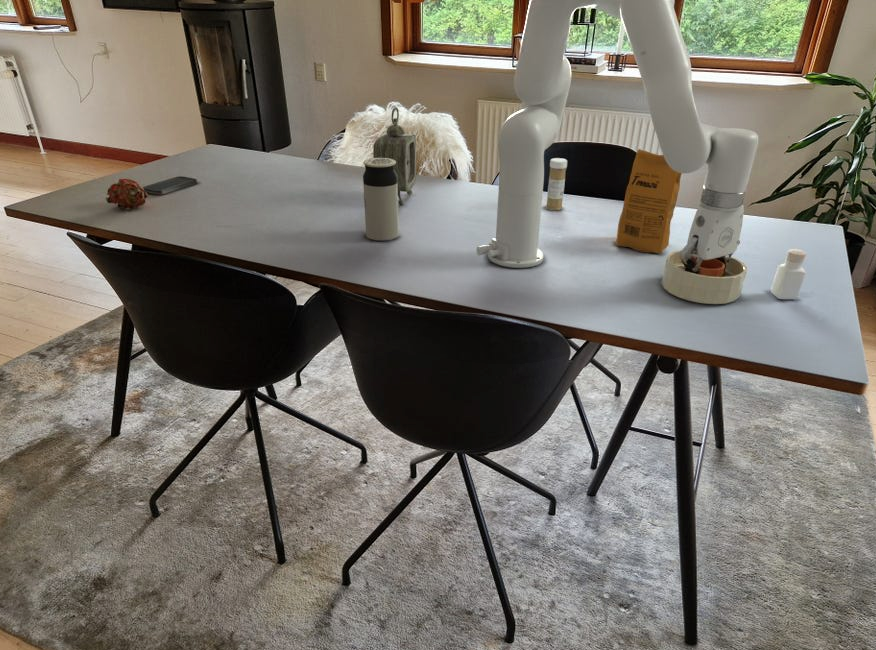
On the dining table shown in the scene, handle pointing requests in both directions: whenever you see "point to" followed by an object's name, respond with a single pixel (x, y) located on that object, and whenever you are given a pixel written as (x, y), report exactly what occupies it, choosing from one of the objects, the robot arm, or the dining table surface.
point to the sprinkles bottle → (556, 183)
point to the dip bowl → (711, 267)
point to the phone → (169, 185)
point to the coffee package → (648, 204)
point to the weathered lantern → (399, 154)
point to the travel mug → (380, 199)
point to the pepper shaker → (789, 276)
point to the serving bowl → (703, 282)
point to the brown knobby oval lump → (126, 194)
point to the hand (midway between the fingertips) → (701, 283)
